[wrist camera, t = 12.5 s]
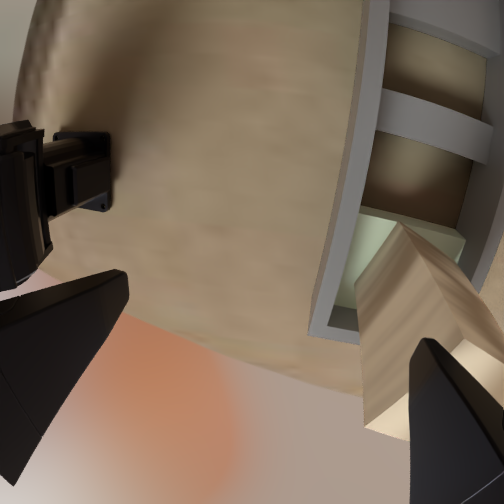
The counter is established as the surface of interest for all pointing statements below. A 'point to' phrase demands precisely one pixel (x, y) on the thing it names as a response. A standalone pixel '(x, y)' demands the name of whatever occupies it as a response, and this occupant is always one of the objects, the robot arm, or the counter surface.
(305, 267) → the counter surface
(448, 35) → the box
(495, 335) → the birch block
